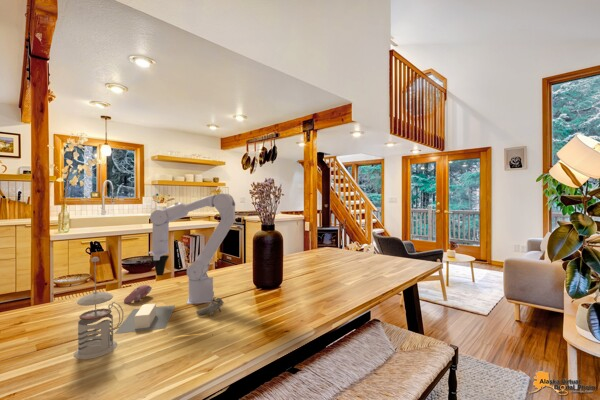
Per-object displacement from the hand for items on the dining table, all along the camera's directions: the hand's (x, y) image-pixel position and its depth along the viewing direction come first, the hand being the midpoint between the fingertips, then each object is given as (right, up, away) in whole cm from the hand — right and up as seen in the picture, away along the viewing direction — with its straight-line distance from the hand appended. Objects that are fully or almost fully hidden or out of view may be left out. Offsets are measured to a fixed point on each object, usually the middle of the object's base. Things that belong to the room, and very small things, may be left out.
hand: (160, 275), depth 115 cm
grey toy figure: (+24, -11, -14) cm, 30 cm away
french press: (+1, -11, -36) cm, 38 cm away
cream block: (+3, -8, -15) cm, 17 cm away
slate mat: (+4, -11, -17) cm, 20 cm away
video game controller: (-9, -11, +2) cm, 14 cm away
